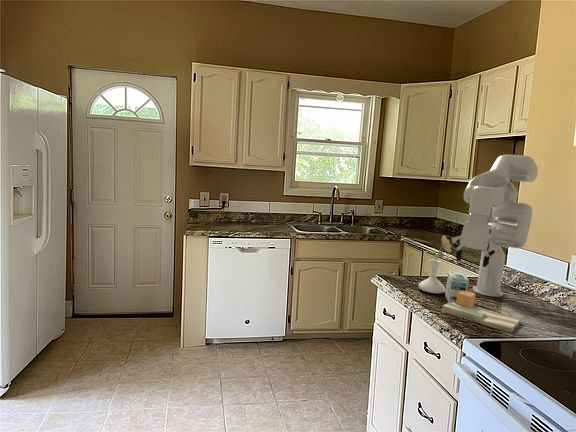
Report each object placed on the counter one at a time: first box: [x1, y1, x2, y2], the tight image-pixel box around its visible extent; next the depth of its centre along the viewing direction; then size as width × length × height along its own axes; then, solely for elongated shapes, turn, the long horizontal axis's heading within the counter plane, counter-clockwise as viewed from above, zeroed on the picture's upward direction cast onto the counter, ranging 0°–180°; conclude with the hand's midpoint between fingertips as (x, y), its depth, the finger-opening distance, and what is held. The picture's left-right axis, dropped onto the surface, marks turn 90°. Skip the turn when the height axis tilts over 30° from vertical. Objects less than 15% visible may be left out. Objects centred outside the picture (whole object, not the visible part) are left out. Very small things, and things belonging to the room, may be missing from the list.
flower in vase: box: [418, 234, 452, 294], centre depth 189 cm, size 13×11×25 cm
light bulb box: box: [444, 270, 470, 303], centre depth 180 cm, size 11×7×11 cm, turn 168°
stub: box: [456, 290, 477, 308], centre depth 169 cm, size 6×5×5 cm
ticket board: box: [441, 301, 522, 334], centre depth 162 cm, size 14×24×2 cm, turn 50°
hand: (471, 263), depth 167 cm, fingers open, 9 cm apart
